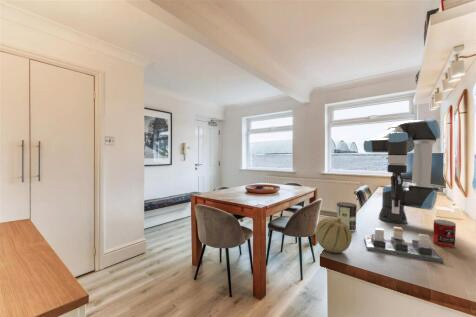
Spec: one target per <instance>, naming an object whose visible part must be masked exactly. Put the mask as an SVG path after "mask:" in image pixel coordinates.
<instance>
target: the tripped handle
mask: <svg viewBox="0 0 476 317" xmlns="http://www.w3.org/2000/svg"><path fill="white" fill-rule="evenodd" d="M392 228H393V229H392V230H393V232H392V233H393V234H392V237H394V238H395V239H402V238H403V231H404V229H403V228H402V227H400V226H399V227H398V226H393V227H392Z"/></svg>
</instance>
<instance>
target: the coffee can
mask: <svg viewBox="0 0 476 317" xmlns="http://www.w3.org/2000/svg"><path fill="white" fill-rule="evenodd" d="M357 206H358V205H357V204H355V203H352V202H345V201H343V202H341V201H339V202H336V218H338V219H341V220H342V221H344V222H345V223H346V224H347V225H348V227H349V229H350V231H351V232H355V231H356V230H357V208H358V207H357Z"/></svg>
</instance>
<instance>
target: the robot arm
mask: <svg viewBox="0 0 476 317" xmlns="http://www.w3.org/2000/svg"><path fill="white" fill-rule="evenodd" d="M440 138H441V129H440V125H439V121H438V120H437V119H435V118H434V119H420V120H409V121H408V120H407V121H402V122H399V123H396V124H394V125H392V126H390V127H388V128H387V129H386V131H384V132H383V133H381V134H380V135H378V136H377V137H375V138H369V139H368V138H367V139H365V140H364V142H363V145H362V146H363V150H364V152H366V153H375V154H376V153H387V157H386V160H387V168H386V169H387V172H388V173H392V175H390V184H387V185H386V184H385V185H384V186H383V187H382V201H381V203H382V204H381V209H380V211H379V214H378V220H381V221H383V222H387V223H393V224H407V223H408V217H407V215H406V212H405V207H409V208H416V209H420V210H429V211H431V210H432V209H433V208H434V207H435V205H436V203H437V197H438V191H437V190H434V186H432V183H431V180H432V179H431V178H432V177H431V175H432V162H433V161H432V160H433V159H432V158H433V145H434V144H435V143H437V140H438V139H440ZM411 152H413V159H412V161H413V162H412V175H411V176H412V177H411V183H409V184H408V187H406V186H405V185H404V184H403V183H404V180H403V178H404V177H403V176H402V174H406V173H408V172H407V171H408V170H407V169H408V166H407V165H408V153H411Z"/></svg>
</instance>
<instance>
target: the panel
mask: <svg viewBox="0 0 476 317" xmlns="http://www.w3.org/2000/svg"><path fill="white" fill-rule="evenodd" d="M384 237H385V229H384V228H380V227H375V228H374V233H371V236H369V235H368V236H367V235H364V238H363V240H364V242H365V247H366V250H367V251H371V252H376V253H382V254H386V255H387V254H388V255H395V256H398V257H399V256H400V257H405V258H410V259H417V260H422V261H423V260H424V261H426V262H427V261H429V262H432V263H433V262H434V263H439V264H444V259H443V257H442V256H441V255H440V254H439V253H438V252H437V251H436V250H435V249H434V248H433V247H432V246H431V245H430V242H431V240H430V239H431V237H430V235H429V234H427V233H418V239H412V240H411V242H408V241H407V242H406V241H405V239H404V238H403V237H402V239H395V238H394V237H393V236H391V237H390V239H388V238H384Z"/></svg>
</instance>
